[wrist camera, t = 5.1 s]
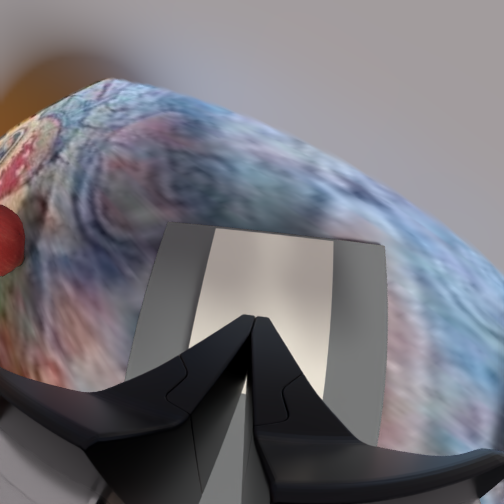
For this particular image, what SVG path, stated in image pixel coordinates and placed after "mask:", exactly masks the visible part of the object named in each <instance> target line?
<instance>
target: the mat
mask: <svg viewBox="0 0 504 504" xmlns="http://www.w3.org/2000/svg"><path fill="white" fill-rule="evenodd" d="M216 228H219V229H229V230H239V231H248V232H258V233H267V234H276V235H285V236H294V237H302V238H311V239H319V240H328V241H334V242H333V283H332V304H331V320H330V334H329V346H328V357H327V367H326V376H325V384H324V393H323V401H324V403H325V404H326V405H327V406H328V407H329V408H330V410H331V411H332V412H333V413H334V414H335V415H336V416H337V417H338V419H339V420H340V421H341V422H342V423H343V424H344V425H345V426H346V427H347V428H348V430H349V431H350V432H351V433H352V434H353V435H354V436H355V437H357V438H358V439H359V440H361V441H362V442H364V443H366V444H368V445H371V446H376V447H377V443H378V437H379V430H380V423H381V416H382V408H383V399H384V389H385V377H386V361H387V335H388V299H387V273H386V257H385V246H382V245H375V244H367V243H359V242H352V241H344V240H336V239H327V238H319V237H311V236H302V235H294V234H285V233H276V232H267V231H258V230H248V229H239V228H229V227H219V226H209V225H198V224H188V223H177V222H168V223H167V226H166V229H165V232H164V235H163V238H162V241H161V244H160V247H159V250H158V253H157V256H156V260H155V263H154V266H153V269H152V273H151V276H150V279H149V283H148V286H147V290H146V293H145V297H144V301H143V304H142V308H141V312H140V316H139V319H138V323H137V327H136V331H135V336H134V340H133V344H132V348H131V353H130V357H129V362H128V367H127V372H126V377H125V381H127V380H130V379H132V378H135V377H137V376H139V375H141V374H144V373H146V372H148V371H150V370H152V369H154V368H156V367H158V366H160V365H162V364H164V363H165V362H167V361H169V360H171V359H172V358H174V357H176V356H177V355H179V354H181V353H182V352H184V351H186V350H187V349H189V344H190V339H191V334H192V329H193V325H194V320H195V315H196V311H197V306H198V302H199V297H200V293H201V288H202V284H203V279H204V275H205V271H206V267H207V262H208V258H209V254H210V250H211V246H212V242H213V238H214V234H215V230H216ZM245 397H246V394H243V393H241V396H240V399H239V401H238V404H237V407H236V410H235V412H234V415H233V418H232V420H231V423H230V426H229V428H228V431H227V434H226V436H225V439H224V442H223V444H222V447H221V450H220V452H219V455H218V457H217V460H216V462H215V465H214V467H213V470H212V472H211V475H210V477H209V480H208V482H207V485H206V487H205V490H204V492H203V494H202V497H201V500H200V502H199V504H241V495H242V470H243V446H244V422H245Z"/></svg>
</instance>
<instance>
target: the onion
mask: <svg viewBox="0 0 504 504" xmlns="http://www.w3.org/2000/svg"><path fill="white" fill-rule="evenodd" d="M24 246H25V234H24V229H23V225H22V222H21V220H20V218H19V217H18V215H17V214H15V213H14V212H13V211H12V210H10V209H9V208H7V207H5V206H3V205H0V276H4V275H6V274H7V273H9V272H11V271H13V270H14V269H15V268H16V267H18V266H20V265H21V264H22V263H23V260H24Z"/></svg>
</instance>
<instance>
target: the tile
mask: <svg viewBox="0 0 504 504" xmlns="http://www.w3.org/2000/svg"><path fill="white" fill-rule="evenodd" d="M333 242H334V241H328V240H319V239H311V238H302V237H294V236H285V235H276V234H267V233H258V232H248V231H239V230H229V229H219V228H216V230H215V234H214V238H213V242H212V246H211V250H210V254H209V258H208V262H207V267H206V271H205V275H204V279H203V284H202V288H201V293H200V297H199V302H198V306H197V311H196V315H195V320H194V325H193V329H192V334H191V339H190V344H189V348H191V347H192V346H194V345H195V344H197V343H199V342H200V341H202V340H203V339H205V338H207V337H208V336H210V335H211V334H213V333H215V332H216V331H218V330H219V329H221V328H222V327H224V326H225V325H227V324H229V323H230V322H232V321H233V320H235V319H236V318H238V317H239V316H241V315H243V314H247V315H254V316H255V317H257V316H262V317H268V318H270V320H271V322H272V323H273V325H274V327H275V328H276V330H277V332H278V333H279V335H280V336H281V338H282V340H283V341H284V343H285V344H286V346H287V348H288V349H289V351H290V353H291V354H292V356H293V357H294V359H295V361H296V362H297V364H298V365H299V367H300V369H301V370H302V372H303V374H304V375H305V376H306V378H307V380H308V381H309V383H310V384H311V386H312V387H313V389H314V390H315V391H316V393H317V394H318V395H319V397H320V398H321V399H322V400H323V393H324V384H325V376H326V367H327V357H328V346H329V334H330V320H331V304H332V283H333ZM246 380H247V377H246ZM242 393H243V394H246V381H245V384H244V387H243V390H242Z"/></svg>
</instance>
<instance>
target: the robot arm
mask: <svg viewBox="0 0 504 504" xmlns="http://www.w3.org/2000/svg"><path fill="white" fill-rule="evenodd" d="M246 377H247V380H246ZM245 381H246V397H245V422H244V446H243V470H242V495H241V504H481V503H480V500H479V499H480V498H481V497H482V496H484V495H485V494H486V493H487V492H489V491H490V490H491V489H492V488H493V487H495V486H496V485H497V484H498V483H499V482H500V481H501V480H503V479H504V452H502V451H499V450H493V449H478V450H474V451H471V452H467V453H464V454H459V455H453V456H429V455H421V454H414V453H408V452H402V451H396V450H390V449H385V448H380V447H376V446H371V445H368V444H366V443H364V442H362V441H361V440H359V439H358V438H357V437H355V436H354V435H353V434H352V433H351V432H350V431H349V430H348V428H347V427H346V426H345V425H344V424H343V423H342V422H341V421H340V420H339V419H338V417H337V416H336V415H335V414H334V413H333V412H332V411H331V410H330V408H329V407H328V406H327V405H326V404H325V403H324V401H323V400H322V399H321V398H320V397H319V395H318V394H317V393H316V391H315V390H314V389H313V387H312V386H311V384H310V383H309V381H308V380H307V378H306V376H305V375H304V374H303V372H302V370H301V369H300V367H299V365H298V364H297V362H296V361H295V359H294V357H293V356H292V354H291V353H290V351H289V349H288V348H287V346H286V344H285V343H284V341H283V340H282V338H281V336H280V335H279V333H278V332H277V330H276V328H275V327H274V325H273V323H272V322H271V320H270V318H268V317H262V316H257V317H255V316H254V315H247V314H243V315H241V316H239V317H238V318H236V319H235V320H233V321H232V322H230V323H229V324H227V325H225V326H224V327H222V328H221V329H219V330H218V331H216V332H215V333H213V334H211V335H210V336H208V337H207V338H205V339H203V340H202V341H200V342H199V343H197V344H195V345H194V346H192V347H191V348H189V349H187V350H186V351H184V352H182V353H181V354H179V355H177V356H176V357H174V358H172V359H171V360H169V361H167V362H165V363H164V364H162V365H160V366H158V367H156V368H154V369H152V370H150V371H148V372H146V373H144V374H141V375H139V376H137V377H135V378H132V379H130V380H127V381H125V382H123V383H120V384H118V385H116V386H113V387H111V388H108V389H105V390H102V391H98V392H79V391H75V390H70V389H66V388H62V387H58V386H54V385H50V384H46V383H42V382H39V381H35V380H32V379H28V378H25V377H22V376H19V375H17V374H14V373H12V372H9V371H7V370H5V369H3V368H1V367H0V504H199V502H200V500H201V497H202V494H203V492H204V490H205V487H206V485H207V482H208V480H209V477H210V475H211V472H212V470H213V467H214V465H215V462H216V460H217V457H218V455H219V452H220V450H221V447H222V444H223V442H224V439H225V436H226V434H227V431H228V428H229V426H230V423H231V420H232V418H233V415H234V412H235V410H236V407H237V404H238V401H239V399H240V396H241V393H242V390H243V387H244V384H245Z"/></svg>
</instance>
